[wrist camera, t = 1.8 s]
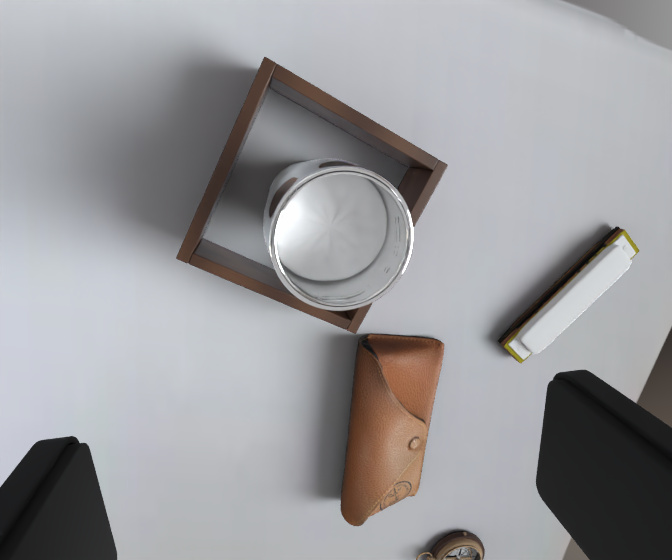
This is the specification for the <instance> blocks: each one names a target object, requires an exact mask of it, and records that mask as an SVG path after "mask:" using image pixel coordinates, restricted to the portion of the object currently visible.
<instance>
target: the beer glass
mask: <svg viewBox="0 0 672 560" xmlns="http://www.w3.org/2000/svg"><path fill="white" fill-rule="evenodd" d="M263 233H264V239H265V243H266V247H267V251H268V253H269V256H270V258H271V260H272V264H273V266H274V269H275V271H276V273H277V275H278V277H279V278H280V280H281V281H282V283H283V284H284V285H285V287H286V288H287V289H288V290H289V291H290V292H291V293H292V294H293V295H295V296H296V297H297V298H299V299H300V300H302V301H304V302H305V303H307V304H309V305H312V306H314V307H317V308H321V309H325V310H333V311H344V310H352V309H356V308H360V307H363V306H366V305H368V304H370V303H372V302H374V301H376V300H378V299H379V298H381V297H382V296H383V295H385V294H386V293H387V292H388V291H389V290H390V289H391V288H392V287H393V286H394V285H395V284H396V283H397V282H398V280H399V279H400V278H401V276H402V274H403V273H404V271H405V269H406V267H407V265H408V262H409V260H410V257H411V253H412V248H413V240H414V231H413V223H412V218H411V215H410V212H409V209H408V207H407V204H406V202H405V201H404V199H403V197H402V196H401V194H400V193H399V192H398V191H397V189H396V188H395V187H394V186H393V185H392V184H391V183H390V182H388V181H387V180H386V179H384V178H383V177H381V176H380V175H378V174H376V173H374V172H372V171H369V170H368V169H366V168H364V167H362V166H360V165H357V164H355V163H352V162H348V161H345V160H340V159H316V160H311V161H307V162H299V163H295V164H292V165H290V166H288V167H286V168H285V169H283V170H282V171H281V172H280V173H279V174H278V175H277V176H276V178H275V179H274V181H273V182H272V184H271V187H270V190H269V193H268V199H267V202H266V206H265V210H264V217H263Z"/></svg>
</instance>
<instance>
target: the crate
mask: <svg viewBox="0 0 672 560" xmlns="http://www.w3.org/2000/svg"><path fill="white" fill-rule="evenodd" d="M269 87H270V88H271V89H273V90H274V91H276V92H278V93H280V94H281V95H283V96H285V97H287V98H288V99H290V100H292V101H294V102H295V103H297V104H299V105H301V106H302V107H304V108H306V109H308V110H309V111H311V112H313V113H315V114H316V115H318V116H320V117H321V118H323V119H325V120H327V121H328V122H330V123H332V124H334V125H335V126H337V127H339V128H341V129H342V130H344V131H346V132H348V133H349V134H351V135H353V136H355V137H356V138H358V139H360V140H362V141H363V142H365V143H367V144H369V145H370V146H372V147H374V148H376V149H377V150H379V151H381V152H383V153H384V154H386V155H388V156H390V157H391V158H393V159H395V160H397V161H398V162H400V163H402V164H404V165H405V166H407V167H409V169H408V170H407V172H406V174H405V176H404V178H403V180H402V182H401V184H400V185H399V187H398V189H397V191H398V192H399V193H400V194H401V196H402V197H403V199H404V201H405V202H406V204H407V207H408V209H409V212H410V215H411V218H412V223H413V228H414V226H415V225H416V223H417V221H418V219H419V217H420V215H421V214H422V212H423V210H424V208H425V206H426V205H427V203H428V201H429V199H430V197H431V195H432V194H433V192H434V190H435V188H436V186H437V184H438V183H439V181H440V179H441V177H442V175H443V174H444V172H445V170H446V168H447V166H448V165H447V164H445V163H444V162H442V161H440V160H438V159H437V158H435V157H433V156H432V155H430V154H428V153H427V152H425V151H423V150H422V149H420V148H418V147H417V146H415V145H413V144H412V143H410V142H408V141H407V140H405V139H403V138H401V137H400V136H398V135H396V134H395V133H393V132H391V131H390V130H388V129H386V128H385V127H383V126H381V125H380V124H378V123H376V122H374V121H373V120H371V119H369V118H368V117H366V116H364V115H363V114H361V113H359V112H358V111H356V110H354V109H353V108H351V107H349V106H348V105H346V104H344V103H342V102H341V101H339V100H337V99H336V98H334V97H332V96H331V95H329V94H327V93H326V92H324V91H322V90H321V89H319V88H317V87H315V86H314V85H312V84H310V83H309V82H307V81H305V80H304V79H302V78H300V77H299V76H297V75H295V74H294V73H292V72H290V71H289V70H287V69H285V68H283V67H282V66H280V65H278V64H277V65H276V63H275V62H273V61H272V60H270V59H268V58H267V57H264V59H263V61H262V63H261V66H260V68H259V70H258V72H257V75H256V77H255V79H254V82H253V84H252V86H251V88H250V91H249V93H248V95H247V98H246V100H245V102H244V104H243V107H242V109H241V111H240V114H239V116H238V118H237V120H236V123H235V125H234V127H233V129H232V132H231V134H230V136H229V139H228V141H227V143H226V145H225V148H224V150H223V152H222V155H221V157H220V159H219V161H218V164H217V166H216V168H215V171H214V173H213V175H212V177H211V180H210V182H209V184H208V187H207V189H206V191H205V193H204V196H203V198H202V200H201V203H200V205H199V207H198V209H197V212H196V214H195V216H194V218H193V221H192V223H191V225H190V228H189V230H188V232H187V234H186V237H185V239H184V241H183V244H182V246H181V248H180V250H179V253H178V255H177V257H176V258H177V259H178V260H181V261H183V262H185V263H189V264H190V265H193V266H195V267H198V268H200V269H202V270H205V271H207V272H209V273H212V274H214V275H217V276H219V277H221V278H224V279H226V280H229V281H231V282H233V283H236V284H238V285H240V286H243V287H245V288H248V289H250V290H252V291H255V292H257V293H259V294H262V295H264V296H267V297H269V298H271V299H274V300H276V301H278V302H281V303H283V304H286V305H288V306H290V307H293V308H295V309H298V310H300V311H302V312H305V313H307V314H309V315H312V316H314V317H317V318H319V319H321V320H324V321H326V322H328V323H331V324H333V325H336V326H338V327H340V328H343V329H345V330H347V331H350V332H352V333H355V334H356V332H357V330H358V328H359V327H360V325H361V323H362V321H363V319H364V318H365V316H366V314H367V312H368V310H369V308H370V307H371V305H372V303H373V302H372V303H370V304H368V305H366V306H363V307H360V308H356V309H352V310H344V311H333V310H325V309H321V308H317V307H314V306H312V305H309V304H307V303H305V302H304V301H302V300H300V299H299V298H297V297H296V296H295V295H293V294H292V293H291V292H290V291H289V290H288V289H287V288H286V287H285V285H284V284H283V283H282V281H281V280H280V278H279V277H278V275H277V273H276V271H275V270H273V269H271V268H269V267H266V266H264V265H262V264H260V263H257V262H255V261H253V260H251V259H248V258H246V257H244V256H241V255H239V254H237V253H235V252H232V251H230V250H228V249H226V248H223V247H221V246H219V245H217V244H214V243H212V242H210V241H208V240H205V239H202V237H203V235H204V233H205V231H206V228H207V226H208V224H209V222H210V219H211V217H212V215H213V213H214V210H215V208H216V206H217V204H218V201H219V199H220V197H221V195H222V193H223V190H224V188H225V186H226V184H227V181H228V179H229V177H230V175H231V172H232V170H233V168H234V166H235V163H236V161H237V159H238V157H239V154H240V152H241V150H242V148H243V146H244V143H245V141H246V139H247V137H248V134H249V132H250V130H251V128H252V125H253V123H254V121H255V119H256V116H257V114H258V112H259V110H260V107H261V105H262V103H263V101H264V99H265V96H266V94H267V92H268V90H269Z"/></svg>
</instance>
